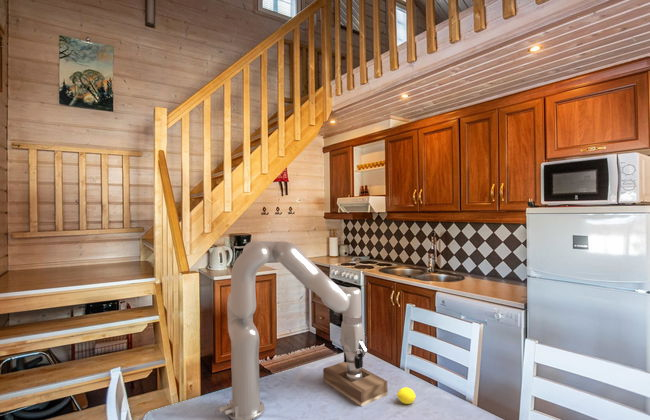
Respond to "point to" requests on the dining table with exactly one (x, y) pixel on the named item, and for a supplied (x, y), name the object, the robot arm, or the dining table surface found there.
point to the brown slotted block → (356, 384)
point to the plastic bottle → (352, 365)
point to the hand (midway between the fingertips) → (353, 364)
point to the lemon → (406, 395)
